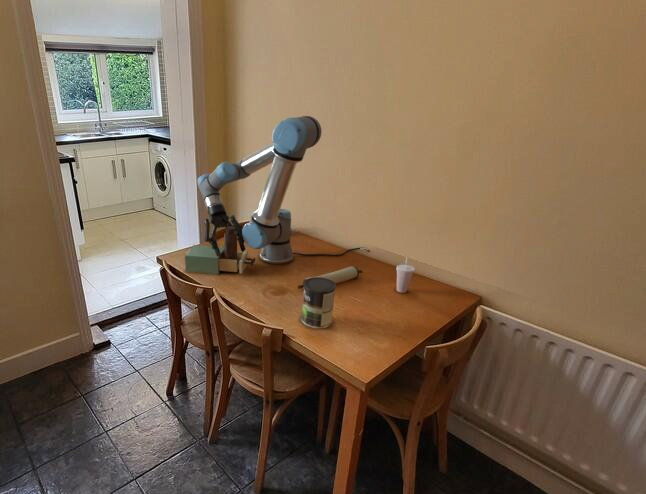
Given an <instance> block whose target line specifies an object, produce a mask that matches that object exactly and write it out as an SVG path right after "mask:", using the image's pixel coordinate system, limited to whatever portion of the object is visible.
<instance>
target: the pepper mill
mask: <svg viewBox="0 0 646 494" xmlns="http://www.w3.org/2000/svg"><path fill="white" fill-rule="evenodd" d="M237 238H238V237H237V231H235V227H232V226H229V227H225V231H224V232H223V240H224V241H223V243H224V246H223V247H224V248H225V259H231V260H237V251H238V240H237Z"/></svg>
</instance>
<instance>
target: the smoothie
mask: <svg viewBox="0 0 646 494" xmlns="http://www.w3.org/2000/svg"><path fill="white" fill-rule="evenodd" d="M408 261H409V256H406V257H405V264H397V266H396V268H395V270H396V291H397V292H398V293H401V294H402V293H403V294H405V293H407V292H408V288H409V285H410V283H411V280H412V276H413V274H414V273H415V267H414V266H413V265H409V264H408Z"/></svg>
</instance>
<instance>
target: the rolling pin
mask: <svg viewBox="0 0 646 494" xmlns="http://www.w3.org/2000/svg"><path fill="white" fill-rule="evenodd" d="M362 273H363V269H358V267H357V266H348V267H345V268H342V269H339V270H336V271H332V272H328V273H325V274H321V275H318V276H316V277H322V278H327V279H330V280H332V281H333V282H334V283H335V284H336V285H337V284H339V283H343V282H346V281H349V280H353V279H358V278H359V277H360V274H362ZM313 277H314V276H311V277H304V279H303V280H302V284H299V285H297V289H304V281H305V280H307V279H309V278H313Z"/></svg>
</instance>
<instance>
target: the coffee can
mask: <svg viewBox="0 0 646 494" xmlns="http://www.w3.org/2000/svg"><path fill="white" fill-rule="evenodd" d="M312 277H313V278H310V277H308V278H309V279H307V280H305V279H304V280H305V281H304V280H303V281H304V287H303V295H302V310H301V322H302V324H303V325H305V326H307V327H309V328H312V329H320V330H321V329H326V328H328V327H330V326H331V325H332V323H333V311H334V301H335V291H336V287H337V286H336V285H337V283H336V284H335V283H334V282H333V281H332V280H330V279H327V278H322V277H317V276H312Z"/></svg>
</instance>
